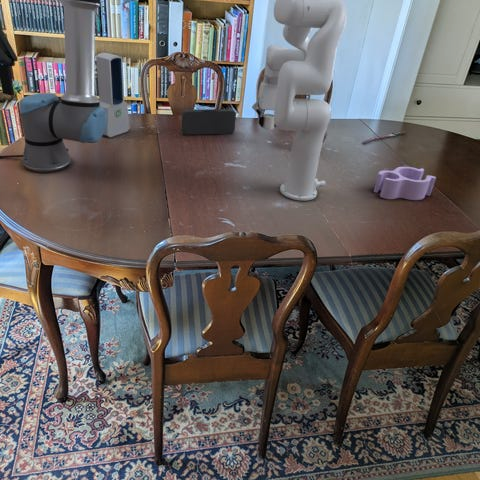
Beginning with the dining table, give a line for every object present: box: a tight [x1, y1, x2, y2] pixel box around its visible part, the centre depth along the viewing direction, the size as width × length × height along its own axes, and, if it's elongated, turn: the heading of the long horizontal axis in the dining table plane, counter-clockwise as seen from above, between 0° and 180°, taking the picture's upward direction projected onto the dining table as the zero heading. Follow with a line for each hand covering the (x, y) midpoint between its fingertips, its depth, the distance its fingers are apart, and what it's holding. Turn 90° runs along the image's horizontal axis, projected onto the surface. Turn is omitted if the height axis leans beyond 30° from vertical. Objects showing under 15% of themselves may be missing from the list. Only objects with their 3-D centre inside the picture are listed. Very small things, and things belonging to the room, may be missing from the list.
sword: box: [363, 132, 408, 145], centre depth 213 cm, size 31×3×1 cm, turn 126°
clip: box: [373, 166, 437, 201], centre depth 164 cm, size 20×12×7 cm, turn 109°
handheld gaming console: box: [180, 108, 237, 135], centre depth 196 cm, size 23×3×10 cm, turn 108°
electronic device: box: [95, 52, 131, 138], centre depth 181 cm, size 12×8×30 cm, turn 148°
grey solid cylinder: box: [261, 113, 275, 130], centre depth 189 cm, size 5×5×5 cm
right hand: (268, 125), depth 190 cm, fingers closed on grey solid cylinder, 5 cm apart
